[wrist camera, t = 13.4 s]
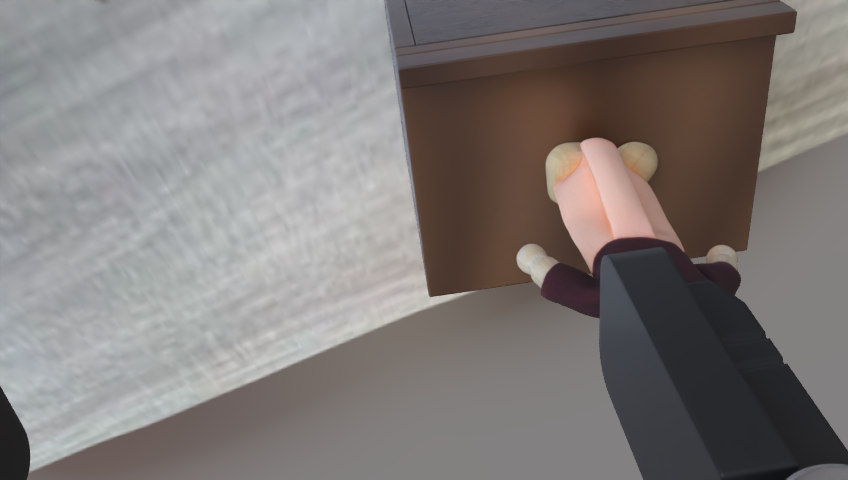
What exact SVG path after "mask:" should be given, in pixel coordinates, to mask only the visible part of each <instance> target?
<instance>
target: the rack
mask: <svg viewBox="0 0 848 480" xmlns="http://www.w3.org/2000/svg"><path fill="white" fill-rule="evenodd" d="M384 2H385V9H386V16H387V23H388V30H389V38H390V45H391V52H392V59H393V66H394V73H395V80H396V87H397V94H398V101H399V108H400V115H401V122H402V129H403V136H404V143H405V150H406V157H407V164H408V170H409V176H410V182H411V188H412V195H413V201H414V207H415V213H416V219H417V225H418V232H419V238H420V244H421V250H422V256H423V263H424V269H425V275H426V281H427V287H428V293H429V296H430V297H434V296H441V295H447V294H454V293H461V292H468V291H474V290H481V289H488V288H495V287H501V286H508V285H515V284H521V283H528V282H534V281H533V280H532V278H531V275H530V274H527V273H525V272H523V271H522V270H521V269H520V268H519V266H518V264H517V254H518V252H519V250H520V249H521V248H522V247H523V246H525V245H527V244H537V245H538V246H540V247H541V248H543V249H544V251H545V252H546V254H547V256H548V257H552V258H554V259H555V260H557V261H558V262H560V263H563V264H566V265H569V266H572V267H575V268H577V269H579V270H581V271H583V272H585V273H586V274H588V273H591V271H590V269H589V267H588V265H587V263H586V261H585V259H584V258H583V256H582V254H581V252H580V251H579V249H578V248H577V246H576V245H575V243H574V241H573V240H572V238H571V236H570V234H569V232H568V230H567V228H566V226H565V224H564V222H563V219H562V216H561V212H560V208H559V205H558V203H556V202H554V201H553V200H551V198H550V197H549V194H548V190H547V178H546V159H547V157H548V155H549V153H550V152H551V151H552V150H553V149H554V148H555V147H557V146H559V145H560V144H564V143H570V142H580V143H582V142H583V141H584V140H586V139H591V138H603V139H606V140H608V141H610V142H612V143H613V144H614V145H615V146H616V148H619V147H620V146H622V145H624V144H626V143H629V142H640V143H644V144H647V145H649V146H651V147H652V148H653V149H654V150H655V152H656V154H657V158H658V164H657V169H656V171H655V173H654V174H653V176H652V177H651V178H650V179H649V181H648V182H647V183H648V184H649V186H650V187H651V189H652V190H653V192H654V194H655V196H656V198H657V200H658V202H659V204H660V206H661V208H662V210H663V212H664V214H665V216H666V218H667V220H668V222H669V223H670V225H671V227H672V228H673V230H674V232H675V233H676V235H677V237H678V238H679V240H680V242H681V244H682V246H683V249H684V252H685V254H687V256H688V257H689V259H690V258H696V257H703V256H707V254H708V252H709V251H710V250H711V249H712V248H713V247H715V246H717V245H726V246H729V247H731V248H732V249H733V250H734V251H735V252H736V251H744V250H747V245H748V237H749V230H750V223H751V216H752V208H753V201H754V194H755V186H756V179H757V172H758V164H759V157H760V150H761V142H762V135H763V128H764V121H765V113H766V106H767V99H768V91H769V84H770V77H771V69H772V62H773V55H774V47H775V40H776V35H781V34H788V33H793V32H794V30H795V23H796V16H797V11H796V10H794V9H793V8H791V7H790V6H788V5H786V4H785V3H783V2H780V0H384Z"/></svg>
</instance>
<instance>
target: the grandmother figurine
mask: <svg viewBox="0 0 848 480" xmlns="http://www.w3.org/2000/svg"><path fill="white" fill-rule="evenodd" d="M657 164H658V158H657V154H656V152H655V150H654V149H653V148H652V147H651V146H649V145H647V144H644V143H640V142H629V143H626V144H624V145H622V146H620V147H619V148H616V146H615V145H614V144H613V143H612V142H610V141H608V140H606V139H603V138H591V139H586V140H584V141H583V142H582V143H580V142H570V143H564V144H560V145H559V146H557V147H555V148H554V149H553V150H552V151H551V152H550V153H549V155H548V157H547V159H546V178H547V190H548V194H549V197H550V198H551V200H553V201H554V202H556V203H558V205H559V208H560V212H561V216H562V219H563V222H564V224H565V226H566V228H567V230H568V232H569V234H570V236H571V238H572V240H573V241H574V243H575V245H576V246H577V248H578V249H579V251H580V252H581V254H582V256H583V258H584V259H585V261H586V263H587V265H588V267H589V269H590V271H591V273H592V275H593V277H591V276H589V275H588V274H586V273H585V272H583V271H581V270H579V269H577V268H575V267H572V266H569V265H566V264H563V263H560V262H558V261H557V260H555V259H554V258H552V257H548V256H547V254H546V252H545V251H544V249H543V248H541V247H540V246H538V245H537V244H527V245H525V246H523V247H522V248H521V249H520V250H519V252H518V254H517V264H518V266H519V268H520V269H521V270H522V271H523V272H525V273H527V274H530V275H531V278H532V280H533V281H534V282H535V283H536V284H537V285H538V286H539V287H540V288H541V295H542V296H543V297H545V298H546V299H548V300H550V301H552V302H555V303H559V304H561V305H563V306H566V307H568V308H570V309H573V310H575V311H577V312H580V313H582V314H585V315H588V316H592V317H596V318H600V268H601V261H602V258H603V256H604V255H609V254H616V253H623V252H629V251H636V250H643V249H650V248H656V247H663V248H664V249H665V250H666V251H667V252H668V254H669V255H670V257H671V258H672V260H673V262H674V263H675V265H676V266H677V268H678V270H679V271H680V273H681V274H682V276H683V278H684V279H685V281H686V283H692V282H698V281H705V280H712V281H713V282H715V283H716V284H718V285H719V286H721V287H722V288H724V289H725V290H727V291H728V292H730V293H731V294H733V295H735V293H736V291H737V289H738V287H739V286H740V282H741V277H740V275H739V273H738V269H737V255H736V252H735V251H734V250H733V249H732V248H731V247H729V246H726V245H717V246H715V247H713V248H712V249H711V250H710V251H709V252H708V254H707V257H706V264H693V263H692V261H691V260H690V259H689V257H688V256H687V254H685V252H684V249H683V246H682V244H681V242H680V240H679V238H678V237H677V235H676V233H675V232H674V230H673V228H672V227H671V225H670V223H669V222H668V220H667V218H666V216H665V214H664V212H663V210H662V208H661V206H660V204H659V202H658V200H657V198H656V196H655V194H654V192H653V190H652V189H651V187H650V186H649V184H648V183H647V182H648V181H649V179H650V178H651V177H652V176H653V174H654V173H655V171H656V169H657Z"/></svg>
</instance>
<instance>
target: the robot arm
mask: <svg viewBox="0 0 848 480" xmlns="http://www.w3.org/2000/svg"><path fill="white" fill-rule="evenodd" d="M599 341H600V342H599V344H600V345H599V346H600V359H601V365H602V371H603V375H604V379H605V383H606V387H607V390H608V393H609V395H610V398H611V400H612V403H613V405H614V408H615V410H616V413H617V415H618V418H619V420H620V423H621V425H622V428H623V430H624V433H625V435H626V438H627V440H628V442H629V445H630V447H631V450H632V452H633V455H634V457H635V460H636V462H637V465H638V467H639V470H640V472H641V475H642V477H643V480H848V451H847V449H846V448H845V446H844V445H843V443H842V442H841V441H840V439H839V438H838V436H837V435H836V433H835V432H834V431H833V429H832V428H831V426H830V425H829V423H828V422H827V420H826V419H825V417H824V416H823V415H822V413H821V412H820V410H819V409H818V407H817V406H816V405H815V404H814V402H813V400H812V399H811V397H810V396H809V395H808V393H807V392H806V390H805V389H804V387H803V386H802V384H801V383H800V382H799V380H798V379H797V377H796V376H795V374H794V373H793V371H792V370H791V369H790V367H789V366H788V364H784V363H783V357H782V356H781V354H780V353H779V351H778V350H777V348H776V347H775V346H774V344H773V343H772V341H771V340H770V339H767V338H766V335H765V331H764V330H763V328H762V327H761V326H760V324H759V323H758V321H757V320H756V319H755V317H754V315H753V314H752V312H751V311H750V310H749V308H748V307H747V305H746V304H745V303H744V302H743V301H741V300H740V299H738V298H737V297H736V296H734V295H733V294H731V293H730V292H728V291H727V290H725V289H724V288H722V287H721V286H719V285H718V284H716V283H715V282H713V281H712V280H705V281H698V282H692V283H686V281H685V279H684V278H683V276H682V274H681V273H680V271H679V270H678V268H677V266H676V265H675V263H674V262H673V260H672V258H671V257H670V255H669V254H668V252H667V251H666V250H665V249H664V248H663V247H656V248H650V249H643V250H636V251H629V252H623V253H616V254H609V255H604V256H603V258H602V261H601V268H600V339H599ZM29 467H30V447H29V441H28V437H27V434H26V432H25V429H24V427H23V426H22V424H21V422H20V420H19V418H18V417H17V415H16V413H15V411H14V410H13V408H12V406H11V404H10V403H9V401H8V399H7V397H6V395H5V394H4V392H3V390H2V388H1V387H0V480H27V476H28V472H29Z"/></svg>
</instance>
